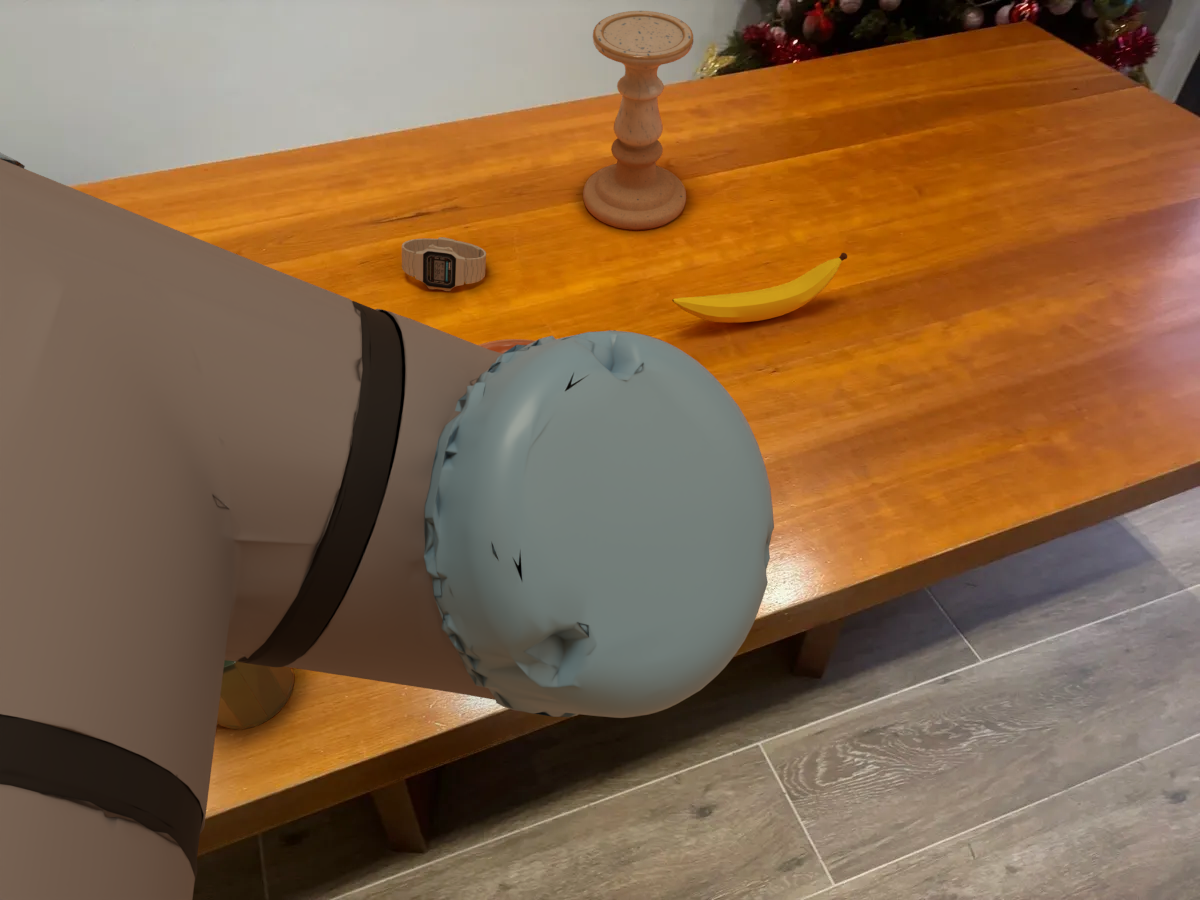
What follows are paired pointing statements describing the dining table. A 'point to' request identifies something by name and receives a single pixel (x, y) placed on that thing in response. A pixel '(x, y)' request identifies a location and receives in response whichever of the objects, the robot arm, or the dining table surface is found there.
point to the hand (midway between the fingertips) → (212, 561)
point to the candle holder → (638, 122)
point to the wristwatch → (443, 262)
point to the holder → (252, 693)
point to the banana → (763, 298)
